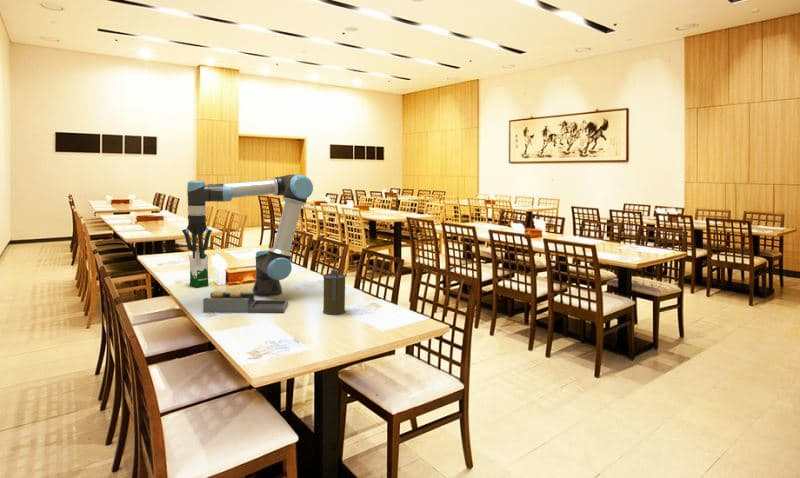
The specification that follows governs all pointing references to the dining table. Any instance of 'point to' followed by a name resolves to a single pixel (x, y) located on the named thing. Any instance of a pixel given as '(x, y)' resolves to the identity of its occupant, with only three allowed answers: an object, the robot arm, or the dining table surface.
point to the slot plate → (228, 303)
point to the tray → (268, 306)
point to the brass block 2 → (236, 295)
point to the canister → (334, 293)
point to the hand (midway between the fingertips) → (198, 265)
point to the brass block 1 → (218, 295)
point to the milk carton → (199, 272)
